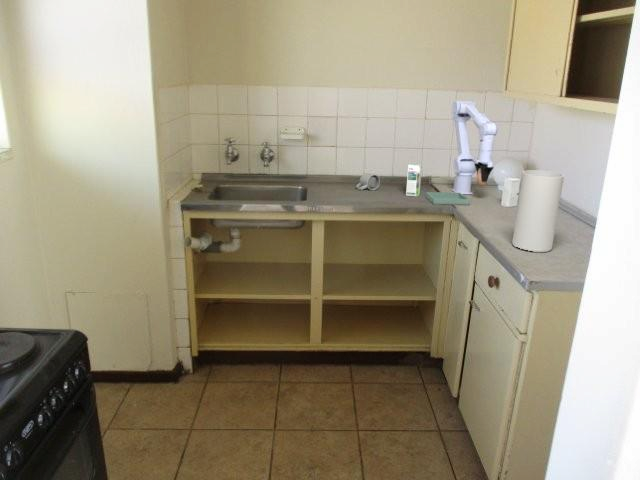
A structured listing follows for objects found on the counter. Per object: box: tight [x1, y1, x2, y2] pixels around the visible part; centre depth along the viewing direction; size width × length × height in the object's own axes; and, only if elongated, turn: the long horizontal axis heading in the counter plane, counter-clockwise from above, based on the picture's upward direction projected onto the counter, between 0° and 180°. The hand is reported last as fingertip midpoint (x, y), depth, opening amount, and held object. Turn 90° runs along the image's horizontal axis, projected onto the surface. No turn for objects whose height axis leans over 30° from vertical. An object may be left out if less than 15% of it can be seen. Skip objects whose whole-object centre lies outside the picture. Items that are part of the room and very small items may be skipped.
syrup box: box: [405, 163, 423, 197], centre depth 246 cm, size 6×6×14 cm
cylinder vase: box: [511, 169, 565, 253], centre depth 173 cm, size 12×12×25 cm
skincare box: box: [500, 177, 521, 208], centre depth 231 cm, size 6×4×12 cm
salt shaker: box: [476, 168, 489, 186], centre depth 237 cm, size 5×5×7 cm
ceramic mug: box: [355, 173, 381, 191], centre depth 258 cm, size 11×8×8 cm
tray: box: [425, 191, 471, 206], centre depth 237 cm, size 14×16×2 cm
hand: (482, 180), depth 238 cm, fingers closed on salt shaker, 5 cm apart
